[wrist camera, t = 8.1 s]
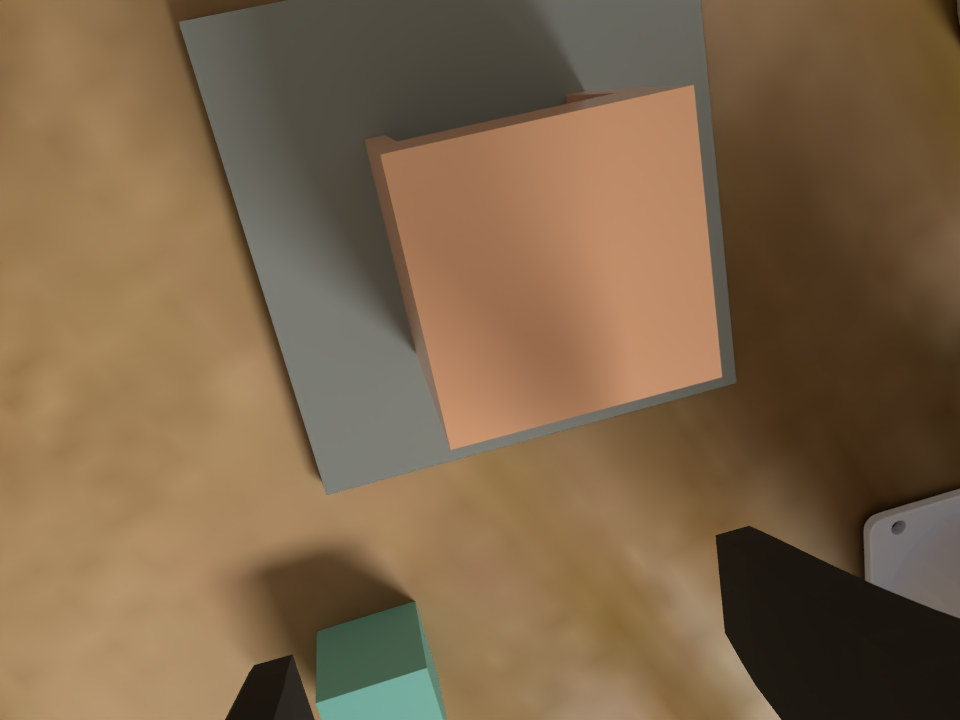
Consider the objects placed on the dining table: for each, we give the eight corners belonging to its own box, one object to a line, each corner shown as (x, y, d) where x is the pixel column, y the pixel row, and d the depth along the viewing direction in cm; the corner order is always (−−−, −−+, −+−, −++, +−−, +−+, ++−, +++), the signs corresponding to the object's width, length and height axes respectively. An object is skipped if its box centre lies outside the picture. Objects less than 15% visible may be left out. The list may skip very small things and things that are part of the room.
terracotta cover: (584, 91, 19) (693, 84, 13) (615, 303, 21) (722, 377, 15) (364, 139, 18) (380, 154, 13) (416, 354, 20) (450, 449, 14)
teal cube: (414, 599, 23) (427, 667, 20) (438, 676, 24) (452, 751, 21) (316, 629, 23) (315, 703, 20) (344, 706, 24) (347, 786, 21)
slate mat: (683, -77, 18) (692, -82, 18) (727, 377, 23) (736, 382, 22) (182, 24, 17) (178, 21, 17) (326, 486, 21) (326, 494, 21)
